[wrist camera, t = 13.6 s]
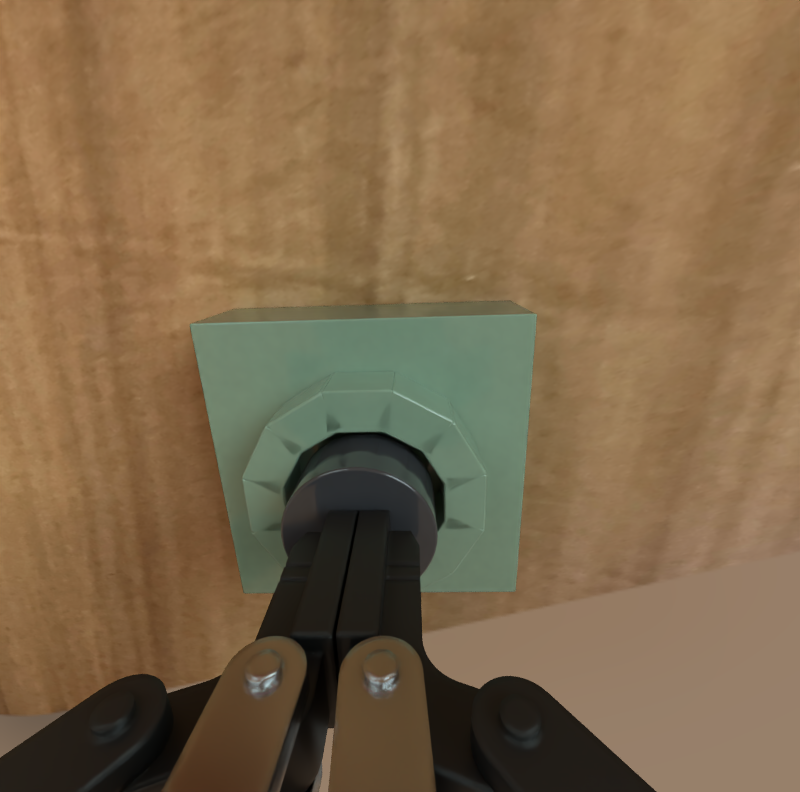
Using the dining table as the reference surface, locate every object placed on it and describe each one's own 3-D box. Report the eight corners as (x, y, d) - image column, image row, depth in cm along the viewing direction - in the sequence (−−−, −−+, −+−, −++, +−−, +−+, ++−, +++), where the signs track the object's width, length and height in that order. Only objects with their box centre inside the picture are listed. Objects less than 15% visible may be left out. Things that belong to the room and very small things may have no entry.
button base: (498, 534, 18) (529, 635, 13) (270, 537, 18) (222, 637, 14) (511, 300, 15) (558, 325, 10) (233, 308, 15) (152, 336, 10)
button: (434, 547, 13) (438, 599, 11) (307, 548, 13) (290, 600, 11) (433, 430, 12) (438, 467, 10) (292, 433, 12) (269, 469, 10)
